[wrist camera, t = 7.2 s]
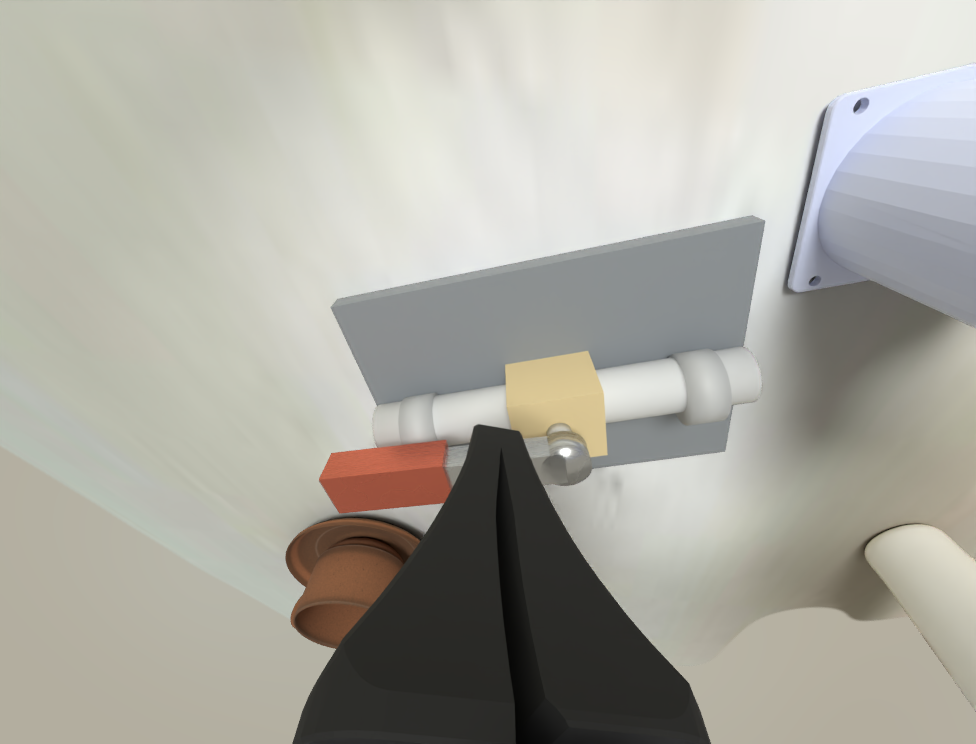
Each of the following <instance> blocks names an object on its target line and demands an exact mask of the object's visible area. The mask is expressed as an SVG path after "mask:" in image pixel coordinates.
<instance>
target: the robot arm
mask: <svg viewBox="0 0 976 744" xmlns="http://www.w3.org/2000/svg"><path fill="white" fill-rule="evenodd" d="M859 99H860V100H861V105H860V107H859V109H858V110H857V111H856V112H855V113H854V112H853V108H854V105H855V103H856V102H857V101H858V100H859ZM814 276H816V277H815V279H814V280H813V281H812V282H810V283H809V281H810V279H811V278H812V277H814ZM868 280H872V281H874V282H876V283H878V284H880V285H883V286H885V287H887V288H889V289H891V290H893V291H896V292H898V293H900V294H902V295H904V296H906V297H909V298H911V299H913V300H915V301H917V302H920V303H922V304H924V305H926V306H928V307H930V308H933V309H935V310H937V311H939V312H941V313H943V314H946V315H948V316H950V317H952V318H954V319H956V320H959V321H961V322H963V323H965V324H967V325H970V326H972V327H974V328H976V63H974V64H969V65H965V66H961V67H956V68H952V69H948V70H943V71H939V72H935V73H931V74H926V75H922V76H918V77H913V78H909V79H905V80H901V81H896V82H892V83H888V84H883V85H879V86H875V87H870V88H866V89H862V90H858V91H853V92H849V93H845V94H842V95H840V96H837V97H836V98H835V99H834V100H833V101H832V102H831V103H830V105H829V106H828V108H827V111H826V114H825V118H824V123H823V127H822V131H821V136H820V140H819V145H818V149H817V154H816V158H815V163H814V167H813V172H812V176H811V181H810V185H809V190H808V194H807V198H806V203H805V207H804V212H803V216H802V221H801V225H800V230H799V234H798V239H797V243H796V248H795V252H794V257H793V261H792V266H791V270H790V274H789V279H788V287H789V289H791V290H793V291H795V292H805V291H811V290H817V289H823V288H828V287H834V286H840V285H846V284H851V283H857V282H863V281H868ZM293 744H711V742H710V739H709V736H708V733H707V731H706V727H705V724H704V721H703V718H702V715H701V712H700V709H699V707H698V704H697V702H696V700H695V697H694V695H693V692H692V690H691V687H690V685H689V683H688V682H687V681H686V680H685V679H684V678H683V676H682V675H681V674H680V673H679V672H678V671H677V670H676V669H675V668H674V667H673V666H672V665H671V664H670V663H669V662H668V661H667V659H666V658H665V657H664V656H663V655H662V654H661V653H660V652H659V651H658V650H657V649H656V648H655V647H654V646H653V645H652V644H651V642H650V641H649V640H648V639H647V638H646V637H645V636H644V635H643V633H642V632H641V631H640V630H639V629H638V628H637V626H636V625H635V624H634V623H633V622H632V620H631V619H630V618H629V617H628V616H627V615H626V613H625V612H624V611H623V609H622V608H621V607H620V606H619V604H618V603H617V602H616V600H615V599H614V598H613V596H612V595H611V594H610V593H609V591H608V590H607V589H606V587H605V586H604V585H603V584H602V582H601V581H600V580H599V578H598V577H597V576H596V574H595V573H594V571H593V570H592V568H591V567H590V566H589V564H588V563H587V561H586V560H585V558H584V557H583V555H582V554H581V552H580V551H579V549H578V548H577V546H576V545H575V543H574V541H573V540H572V538H571V537H570V535H569V533H568V532H567V530H566V528H565V527H564V525H563V523H562V521H561V520H560V518H559V516H558V514H557V512H556V510H555V509H554V507H553V505H552V503H551V501H550V499H549V497H548V495H547V493H546V491H545V489H544V487H543V485H542V483H541V481H540V479H539V476H538V474H537V472H536V470H535V467H534V465H533V463H532V460H531V458H530V456H529V453H528V450H527V448H526V445H525V443H524V440H523V437H522V434H521V433H520V432H519V431H516V430H511V429H505V428H499V427H493V426H487V425H482V424H477V425H475V426H474V427H473V431H472V435H471V439H470V443H469V447H468V451H467V455H466V459H465V462H464V464H463V466H462V469H461V471H460V473H459V476H458V478H457V480H456V482H455V484H454V486H453V488H452V489H451V491H450V493H449V495H448V497H447V499H446V501H445V503H444V504H443V506H442V508H441V510H440V511H439V513H438V515H437V516H436V518H435V520H434V521H433V523H432V524H431V526H430V528H429V529H428V531H427V532H426V534H425V535H424V537H423V538H422V540H421V541H420V543H419V544H418V545H417V547H416V548H415V550H414V551H413V553H412V554H411V556H410V557H409V558H408V560H407V561H406V562H405V564H404V565H403V567H402V568H401V569H400V570H399V572H398V573H397V574H396V575H395V577H394V578H393V579H392V581H391V582H390V583H389V584H388V586H387V587H386V588H385V590H384V591H383V592H382V593H381V595H380V596H379V597H378V598H377V600H376V601H375V602H374V603H373V604H372V606H371V607H370V608H369V609H368V610H367V611H366V612H365V614H364V615H363V616H362V617H361V618H360V619H359V620H358V622H357V623H356V624H355V625H354V626H353V627H352V628H351V630H350V631H349V632H348V633H347V634H346V635H345V637H344V638H343V639H342V641H341V642H340V644H339V646H338V648H337V649H336V651H335V652H334V654H333V656H332V657H331V659H330V660H329V662H328V663H327V665H326V667H325V669H324V670H323V672H322V673H321V675H320V677H319V678H318V680H317V682H316V684H315V685H314V687H313V689H312V691H311V693H310V695H309V697H308V700H307V702H306V704H305V706H304V709H303V711H302V714H301V718H300V721H299V724H298V728H297V731H296V734H295V737H294V740H293Z"/></svg>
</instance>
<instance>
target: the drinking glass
mask: <svg viewBox="0 0 976 744" xmlns="http://www.w3.org/2000/svg"><path fill="white" fill-rule="evenodd" d="M864 553H865V558H866V560H867V562H868V563H869V564H870V566H871V567H872V568H873V569H874V571H875V572H876V573H877V574H878V575H879V577H880V578H881V579H882V580H883V582H884V583H885V584H886V586H887V587H888V588H889V590H890V591H891V593H892V594H893V595H894V597H895V598H896V600H897V601H898V602H899V604H900V605H901V607H902V608H903V609H904V611H905V612H906V614H907V615H908V616H909V618H910V619H911V621H912V622H913V623H914V625H915V626H916V628H917V629H918V630H919V632H920V633H921V634H922V636H923V637H924V639H925V640H926V642H927V643H928V645H929V646H930V647H931V649H932V650H933V652H934V653H935V655H936V656H937V657H938V659H939V660H940V662H941V663H942V665H943V666H944V667H945V669H946V670H947V672H948V673H949V674H950V676H951V677H952V679H953V680H954V681H955V683H956V684H957V686H958V687H959V689H960V690H961V692H962V693H963V694H964V696H965V697H966V699H967V700H968V702H969V703H970V704H971V706H972V707H973V708H974V710H975V711H976V561H975V560H974V559H973V558H972V557H971V556H969V555H968V554H967V553H966V552H965V551H964V550H963V549H962V548H961V547H960V546H958V545H957V544H956V543H955V542H954V541H953V540H952V539H951V538H950V537H949V536H948V535H947V534H946V533H944V532H943V531H941V530H940V529H938V528H936V527H933V526H930V525H924V524H911V525H904V526H900V527H896V528H893V529H890V530H887V531H885V532H883V533H881V534H879V535H878V536H876V537H875V538H873V539H872V540H871V541H870V542H869V543H868V544H867V546H866V548H865V552H864Z"/></svg>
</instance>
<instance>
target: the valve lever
mask: <svg viewBox="0 0 976 744" xmlns="http://www.w3.org/2000/svg"><path fill="white" fill-rule="evenodd" d="M523 440H524V443H525V445H526V448H527V450H528V453H529V456H530V458H531V460H532V463H533V465H534V467H535V470H536V472H537V474H538V476H539V479H540V481H541V483H542V485H549V484H555V485H560V486H568V485H574V484H577V483H579V482H581V481H583V480H584V479H586V478H587V477H588V476H589V474H590V473H591V471H592V462H591V459H590V455H589V451H588V448H587V444H586V441H585V439H584V438H583V437H582V436H581V435H579V434H577V433H575V432H571V431H558V432H554V433H551V434H549V435H548V436H543V437H534V438H525V439H523ZM468 447H469V445H465V446H456V447H448V444H447V441H446V440H440V441H431V442H423V443H414V444H406V445H397V446H389V447H380V448H372V449H363V450H355V451H346V452H338V453H331V455H330V457H329V460H328V462H327V464H326V466H325V468H324V470H323V472H322V474H321V476H320V478H319V482H320V483H321V485H322V487H323V488H324V490H325V492H326V493H327V495H328V496H329V498H330V500H331V501H332V503H333V505H334V506H335V507H336V508H337V510H338V512H339V513H349V512H359V511H369V510H379V509H389V508H399V507H410V506H420V505H430V504H440V503H445V501H446V499H447V497H448V495H449V493H450V491H451V489H452V488H453V486H454V484H455V482H456V480H457V478H458V476H459V473H460V471H461V469H462V466H463V464H464V462H465V459H466V455H467V451H468Z"/></svg>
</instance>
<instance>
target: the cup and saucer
mask: <svg viewBox="0 0 976 744" xmlns="http://www.w3.org/2000/svg"><path fill="white" fill-rule="evenodd" d="M419 543H420V540H419V539H417V538H416V537H415V536H413V535H412V534H410V533H409V532H407V531H405V530H403V529H401V528H399V527H396V526H394V525H391V524H388V523H384V522H381V521H376V520H371V519H363V518H341V519H334V520H329V521H325V522H322V523H319V524H316V525H313V526H311V527H309V528H307V529H305V530H303V531H302V532H300V533H299V534H298V535H297V536H296V537H295V538H294V539H293V541H292V542H291V543H290V545H289V546H288V548H287V551H286V564H287V567H288V569H289V571H290V572H291V574H292V575H293V576H294V577H295V578H296V579H297V580H298V581H299V582H300V583H301V584H302V585H304V586H305V587H306V589H305V591H304V593H303V595H302V596H301V597H300V599H299V600H298V601H297V603H296V604H295V606H294V608H293V611H292V614H291V624H292V626H293V627H294V628H296V630H297V631H298V632H299V633H300V634H301V635H303V636H304V637H305V638H307V639H309V640H311V641H313V642H315V643H317V644H320V645H323V646H327V647H331V648H335V649H337V648H338V646H339V644H340V642H341V641H342V639H343V638H344V637H345V635H346V634H347V633H348V632H349V631H350V630H351V628H352V627H353V626H354V625H355V624H356V623H357V622H358V620H359V619H360V618H361V617H362V616H363V615H364V614H365V612H366V611H367V610H368V609H369V608H370V607H371V606H372V604H373V603H374V602H375V601H376V600H377V598H378V597H379V596H380V595H381V593H382V592H383V591H384V590H385V588H386V587H387V586H388V584H389V583H390V582H391V581H392V579H393V578H394V577H395V575H396V574H397V573H398V572H399V570H400V569H401V568H402V567H403V565H404V564H405V562H406V561H407V560H408V558H409V557H410V556H411V554H412V553H413V551H414V550H415V548H416V547H417V545H418V544H419Z"/></svg>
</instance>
